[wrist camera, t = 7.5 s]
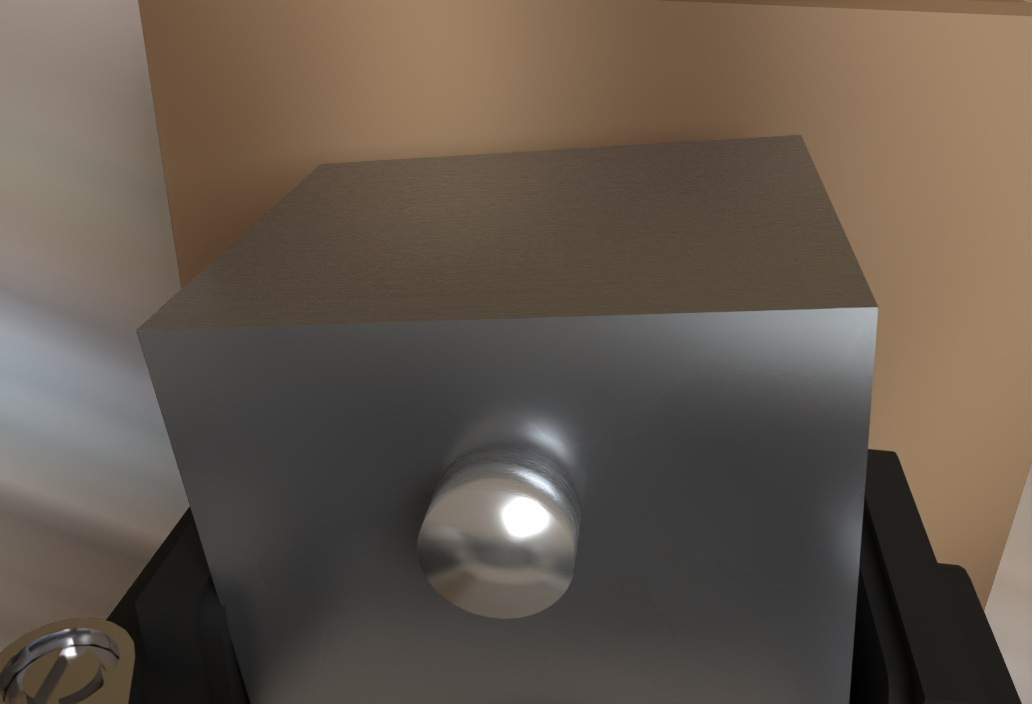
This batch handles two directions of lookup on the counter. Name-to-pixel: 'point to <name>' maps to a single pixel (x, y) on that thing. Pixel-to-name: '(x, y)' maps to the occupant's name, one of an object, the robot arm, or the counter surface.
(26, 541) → the counter surface
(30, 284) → the counter surface
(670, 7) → the stand
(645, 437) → the housing
